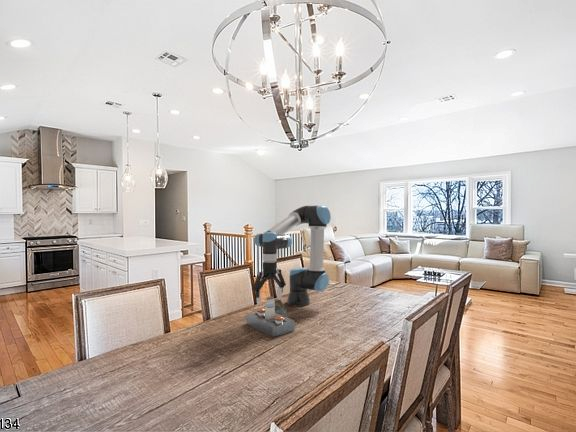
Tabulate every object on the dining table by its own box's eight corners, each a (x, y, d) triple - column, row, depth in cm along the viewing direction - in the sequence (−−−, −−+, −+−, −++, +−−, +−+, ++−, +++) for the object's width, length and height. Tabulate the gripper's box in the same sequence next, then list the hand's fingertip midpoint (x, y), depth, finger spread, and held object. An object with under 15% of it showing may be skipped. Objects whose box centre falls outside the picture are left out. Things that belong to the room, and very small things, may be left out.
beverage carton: (273, 320, 179) (273, 309, 179) (268, 310, 198) (267, 299, 198) (287, 319, 181) (287, 308, 181) (280, 309, 200) (280, 299, 200)
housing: (267, 318, 183) (267, 309, 183) (294, 330, 165) (294, 320, 164) (246, 323, 174) (246, 314, 174) (272, 337, 156) (272, 327, 156)
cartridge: (271, 324, 173) (270, 295, 173) (276, 327, 169) (276, 297, 169) (263, 326, 170) (263, 296, 169) (268, 329, 166) (268, 298, 166)
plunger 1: (262, 319, 179) (262, 307, 179) (268, 321, 175) (268, 309, 175) (254, 321, 176) (254, 309, 176) (260, 323, 172) (260, 311, 172)
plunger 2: (280, 327, 167) (280, 314, 167) (286, 330, 163) (286, 317, 163) (272, 329, 164) (272, 316, 163) (278, 332, 160) (278, 319, 159)
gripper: (283, 258, 179) (283, 296, 180) (245, 262, 164) (245, 304, 164) (292, 260, 174) (292, 299, 174) (253, 264, 158) (253, 307, 158)
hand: (269, 301), depth 169 cm, fingers open, 13 cm apart
